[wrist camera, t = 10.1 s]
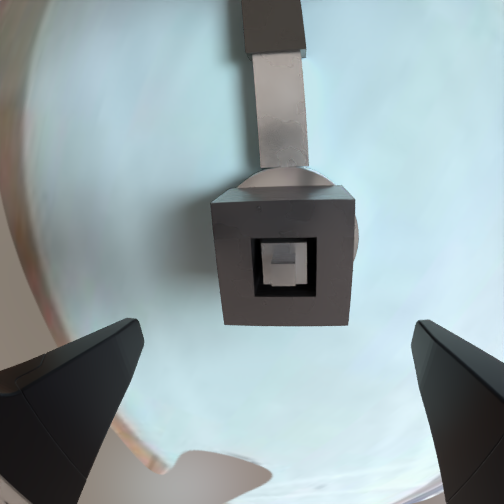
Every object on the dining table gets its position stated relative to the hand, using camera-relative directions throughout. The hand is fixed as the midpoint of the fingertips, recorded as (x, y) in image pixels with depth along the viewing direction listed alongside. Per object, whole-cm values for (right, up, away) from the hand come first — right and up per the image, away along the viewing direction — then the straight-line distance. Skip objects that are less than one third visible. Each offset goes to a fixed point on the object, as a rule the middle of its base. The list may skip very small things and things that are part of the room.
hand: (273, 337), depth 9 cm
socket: (+1, +3, +8) cm, 9 cm away
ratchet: (+1, +9, +8) cm, 12 cm away
